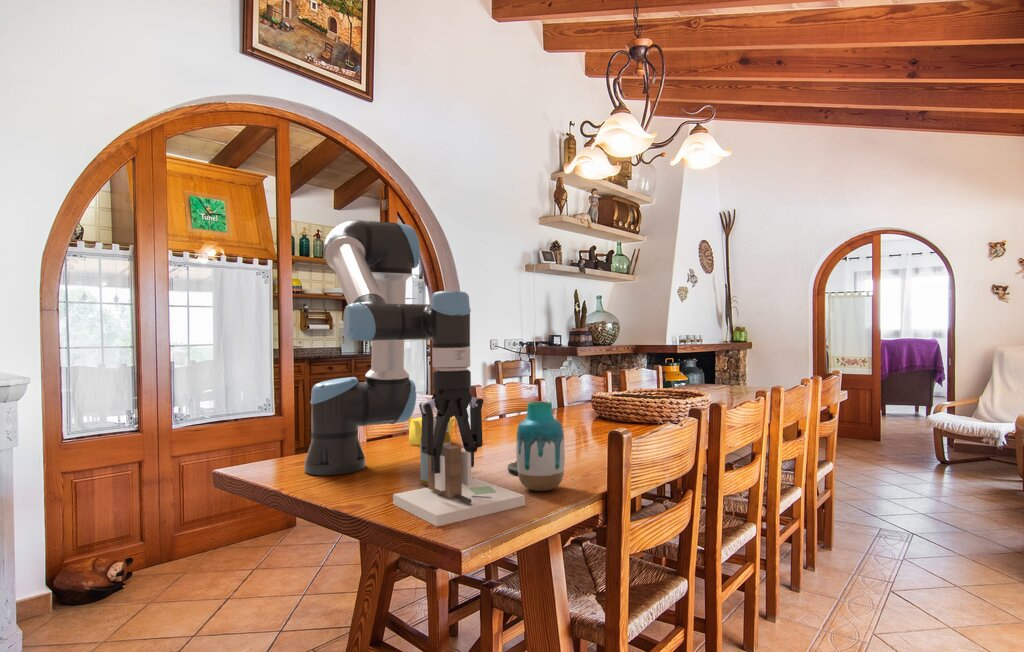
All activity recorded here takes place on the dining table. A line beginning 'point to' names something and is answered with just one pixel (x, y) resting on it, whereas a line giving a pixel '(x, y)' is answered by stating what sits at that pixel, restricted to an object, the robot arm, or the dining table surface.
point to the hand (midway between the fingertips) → (453, 486)
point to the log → (513, 468)
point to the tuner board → (458, 502)
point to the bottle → (425, 456)
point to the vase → (540, 448)
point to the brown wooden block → (449, 473)
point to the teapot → (420, 430)
